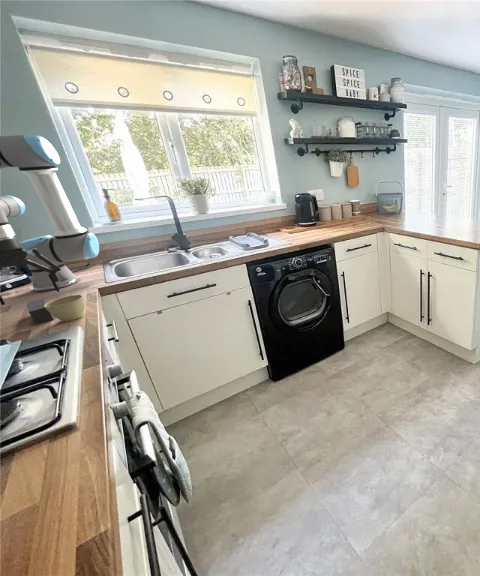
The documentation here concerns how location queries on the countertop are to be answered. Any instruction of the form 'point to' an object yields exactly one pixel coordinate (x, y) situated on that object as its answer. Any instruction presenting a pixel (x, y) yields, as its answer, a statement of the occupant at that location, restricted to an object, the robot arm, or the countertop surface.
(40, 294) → the countertop surface
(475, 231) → the countertop surface
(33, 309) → the bar
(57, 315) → the olive yellow bowl
